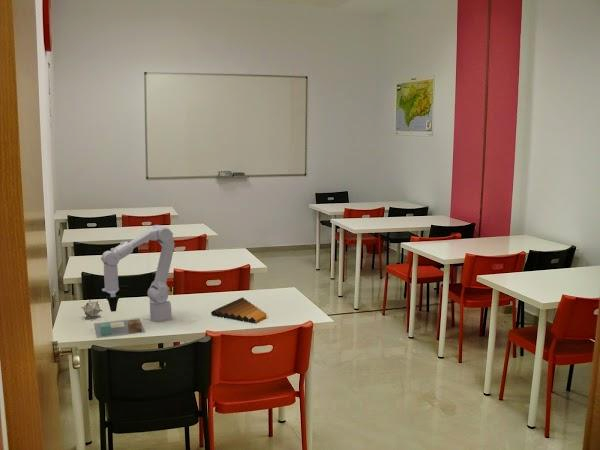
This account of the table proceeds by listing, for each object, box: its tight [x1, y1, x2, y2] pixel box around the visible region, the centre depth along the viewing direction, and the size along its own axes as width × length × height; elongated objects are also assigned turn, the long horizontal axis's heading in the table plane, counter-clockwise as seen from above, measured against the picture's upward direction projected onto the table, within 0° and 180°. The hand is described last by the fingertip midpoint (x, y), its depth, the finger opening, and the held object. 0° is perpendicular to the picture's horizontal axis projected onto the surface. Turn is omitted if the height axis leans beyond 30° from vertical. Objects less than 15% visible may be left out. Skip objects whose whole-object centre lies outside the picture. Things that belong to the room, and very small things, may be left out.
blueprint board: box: [93, 318, 146, 339], centre depth 265 cm, size 20×20×1 cm
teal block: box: [100, 323, 111, 336], centre depth 257 cm, size 4×4×4 cm
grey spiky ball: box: [81, 299, 103, 320], centre depth 281 cm, size 9×8×10 cm
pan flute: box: [210, 296, 268, 324], centre depth 291 cm, size 25×3×25 cm
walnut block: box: [128, 318, 142, 333], centre depth 262 cm, size 5×5×4 cm
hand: (112, 308), depth 263 cm, fingers open, 7 cm apart
